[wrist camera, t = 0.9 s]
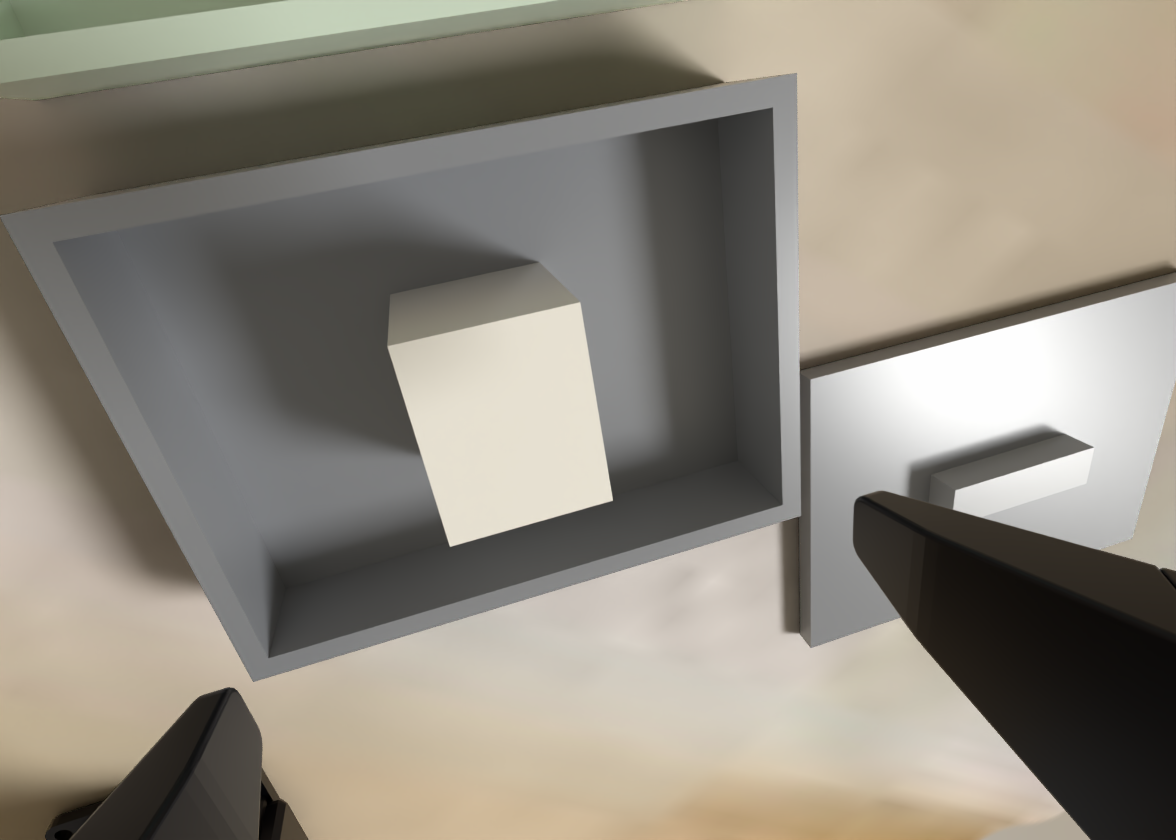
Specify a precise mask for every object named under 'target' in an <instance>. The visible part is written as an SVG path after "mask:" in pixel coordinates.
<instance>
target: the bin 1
mask: <svg viewBox="0 0 1176 840" xmlns="http://www.w3.org/2000/svg"><path fill="white" fill-rule="evenodd" d="M680 1H686V0H0V98H7V99H22V100H42V99H49V98H55V97H62V96H68V95H75V94H81V93H88V92H94V91H101V90H107V89H114V88H120V87H127V86H133V85H140V84H146V83H153V82H159V81H166V80H172V79H179V78H185V77H192V76H198V75H205V74H211V73H218V72H224V71H231V70H237V69H244V68H250V67H257V66H263V65H270V64H276V63H283V62H289V61H296V60H302V59H309V58H315V57H322V56H328V55H335V54H341V53H348V52H354V51H361V50H367V49H374V48H380V47H387V46H393V45H400V44H406V43H413V42H419V41H426V40H432V39H439V38H445V37H452V36H458V35H465V34H471V33H478V32H484V31H491V30H498V29H504V28H511V27H517V26H524V25H530V24H537V23H543V22H550V21H556V20H563V19H569V18H576V17H582V16H589V15H595V14H602V13H608V12H615V11H621V10H628V9H634V8H641V7H647V6H654V5H660V4H667V3H673V2H680Z"/></svg>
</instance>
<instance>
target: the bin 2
mask: <svg viewBox="0 0 1176 840" xmlns="http://www.w3.org/2000/svg"><path fill="white" fill-rule="evenodd" d="M0 218H1V220H2V222H3V224H4V226H5V228H6V229H7V231H8V233H9V235H10V237H11V239H12V240H13V242H14V244H15V246H16V248H17V250H18V251H19V253H20V255H21V257H22V259H23V261H24V262H25V264H26V266H27V268H28V270H29V272H30V273H31V275H32V277H33V279H34V281H35V283H36V284H37V286H38V288H39V290H40V292H41V294H42V295H43V297H44V299H45V301H46V303H47V305H48V306H49V308H50V310H51V312H52V314H53V316H54V317H55V319H56V321H57V323H58V325H59V327H60V329H61V330H62V332H63V334H64V336H65V338H66V340H67V341H68V343H69V345H70V347H71V349H72V351H73V352H74V354H75V356H76V358H77V360H78V362H79V363H80V365H81V367H82V369H83V371H84V373H85V374H86V376H87V378H88V380H89V382H90V384H91V385H92V387H93V389H94V391H95V393H96V395H97V396H98V398H99V400H100V402H101V404H102V406H103V407H104V409H105V411H106V413H107V415H108V417H109V418H110V420H111V422H112V424H113V426H114V428H115V429H116V431H117V433H118V435H119V437H120V439H121V440H122V442H123V444H124V446H125V448H126V450H127V451H128V453H129V455H130V457H131V459H132V461H133V462H134V464H135V466H136V468H137V470H138V472H139V473H140V475H141V477H142V479H143V481H144V483H145V484H146V486H147V488H148V490H149V492H150V494H151V495H152V497H153V499H154V501H155V503H156V505H157V506H158V508H159V510H160V512H161V514H162V516H163V517H164V519H165V521H166V523H167V525H168V527H169V528H170V530H171V532H172V534H173V536H174V538H175V539H176V541H177V543H178V545H179V547H180V549H181V550H182V552H183V554H184V556H185V558H186V560H187V561H188V563H189V565H190V567H191V569H192V571H193V572H194V574H195V576H196V578H197V580H198V582H199V583H200V585H201V587H202V589H203V591H204V593H205V594H206V596H207V598H208V600H209V602H210V604H211V605H212V607H213V609H214V611H215V613H216V615H217V616H218V618H219V620H220V622H221V624H222V626H223V628H224V629H225V631H226V633H227V635H228V637H229V639H230V640H231V642H232V644H233V646H234V648H235V650H236V651H237V653H238V655H239V657H240V659H241V661H242V662H243V664H244V666H245V668H246V670H247V672H248V673H249V675H250V677H251V679H252V681H253V682H255V681H258V680H261V679H265V678H268V677H271V676H274V675H278V674H281V673H284V672H288V671H291V670H294V669H298V668H301V667H304V666H307V665H311V664H314V663H317V662H321V661H324V660H327V659H331V658H334V657H337V656H340V655H344V654H347V653H350V652H354V651H357V650H360V649H364V648H367V647H370V646H373V645H377V644H380V643H383V642H387V641H390V640H393V639H397V638H400V637H403V636H406V635H410V634H413V633H416V632H420V631H423V630H426V629H430V628H433V627H436V626H439V625H443V624H446V623H449V622H453V621H456V620H459V619H463V618H466V617H469V616H472V615H476V614H479V613H482V612H486V611H489V610H492V609H496V608H499V607H502V606H505V605H509V604H512V603H515V602H519V601H522V600H525V599H529V598H532V597H535V596H538V595H542V594H545V593H548V592H552V591H555V590H558V589H562V588H565V587H568V586H571V585H575V584H578V583H581V582H585V581H588V580H591V579H595V578H598V577H601V576H604V575H608V574H611V573H614V572H618V571H621V570H624V569H628V568H631V567H634V566H638V565H641V564H644V563H647V562H651V561H654V560H657V559H661V558H664V557H667V556H671V555H674V554H677V553H680V552H684V551H687V550H690V549H694V548H697V547H700V546H704V545H707V544H710V543H713V542H717V541H720V540H723V539H727V538H730V537H733V536H737V535H740V534H743V533H746V532H750V531H753V530H756V529H760V528H763V527H766V526H770V525H773V524H776V523H779V522H783V521H786V520H789V519H793V518H796V517H799V516H801V463H800V356H799V248H798V141H797V73H794V74H786V75H778V76H771V77H763V78H756V79H748V80H741V81H733V82H726V83H720V84H715V85H709V86H703V87H698V88H692V89H686V90H681V91H675V92H670V93H664V94H658V95H653V96H647V97H641V98H636V99H630V100H625V101H619V102H613V103H608V104H602V105H596V106H591V107H585V108H580V109H574V110H568V111H563V112H557V113H551V114H546V115H540V116H535V117H529V118H523V119H518V120H512V121H506V122H501V123H495V124H490V125H484V126H478V127H473V128H467V129H461V130H456V131H450V132H445V133H439V134H433V135H428V136H422V137H417V138H411V139H405V140H400V141H394V142H388V143H383V144H377V145H372V146H366V147H360V148H355V149H349V150H343V151H338V152H332V153H327V154H321V155H315V156H310V157H304V158H298V159H293V160H287V161H282V162H276V163H270V164H265V165H259V166H253V167H248V168H242V169H237V170H231V171H225V172H220V173H214V174H208V175H203V176H197V177H192V178H186V179H180V180H175V181H169V182H164V183H158V184H152V185H147V186H141V187H135V188H130V189H124V190H119V191H113V192H107V193H102V194H96V195H90V196H85V197H80V198H75V199H71V200H67V201H62V202H58V203H53V204H49V205H44V206H40V207H35V208H31V209H27V210H22V211H18V212H13V213H9V214H4V215H0ZM538 262H540V263H541V264H542V265H543V266H544V267H545V268H546V269H547V270H548V271H549V272H550V273H551V274H552V275H553V276H554V277H555V278H556V279H557V280H558V281H559V282H560V283H561V284H562V285H563V286H564V287H565V288H566V289H567V290H568V291H569V292H570V293H571V294H572V295H573V296H574V297H576V298H577V299H578V300H579V301H580V304H581V310H582V316H583V322H584V328H585V334H586V340H587V346H588V352H589V358H590V364H591V370H592V376H593V382H594V388H595V394H596V400H597V407H598V413H599V419H600V425H601V431H602V437H603V443H604V449H605V455H606V461H607V467H608V473H609V479H610V485H611V491H612V497H613V501H610V502H606V503H603V504H599V505H596V506H592V507H589V508H585V509H582V510H578V511H575V512H571V513H568V514H564V515H561V516H557V517H553V518H550V519H546V520H543V521H539V522H536V523H532V524H529V525H525V526H522V527H518V528H515V529H511V530H508V531H504V532H501V533H497V534H494V535H490V536H487V537H483V538H479V539H476V540H472V541H469V542H465V543H462V544H458V545H455V546H451V547H450V546H449V542H448V539H447V536H446V533H445V530H444V526H443V523H442V520H441V517H440V514H439V510H438V507H437V504H436V501H435V498H434V494H433V491H432V488H431V485H430V481H429V478H428V475H427V472H426V469H425V465H424V462H423V459H422V456H421V453H420V449H419V446H418V443H417V440H416V437H415V433H414V430H413V427H412V424H411V421H410V417H409V414H408V411H407V408H406V405H405V401H404V398H403V395H402V392H401V389H400V385H399V382H398V379H397V376H396V373H395V369H394V366H393V363H392V360H391V357H390V353H389V350H388V347H387V343H388V326H389V308H390V294H394V293H399V292H404V291H408V290H413V289H417V288H422V287H427V286H431V285H436V284H441V283H445V282H450V281H454V280H459V279H464V278H468V277H473V276H478V275H482V274H487V273H491V272H496V271H501V270H505V269H510V268H515V267H519V266H524V265H528V264H533V263H538Z"/></svg>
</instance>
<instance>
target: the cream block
mask: <svg viewBox="0 0 1176 840" xmlns="http://www.w3.org/2000/svg"><path fill="white" fill-rule="evenodd" d="M387 347H388V350H389V353H390V357H391V360H392V363H393V366H394V369H395V373H396V376H397V379H398V382H399V385H400V389H401V392H402V395H403V398H404V401H405V405H406V408H407V411H408V414H409V417H410V421H411V424H412V427H413V430H414V433H415V437H416V440H417V443H418V446H419V449H420V453H421V456H422V459H423V462H424V465H425V469H426V472H427V475H428V478H429V481H430V485H431V488H432V491H433V494H434V498H435V501H436V504H437V507H438V510H439V514H440V517H441V520H442V523H443V526H444V530H445V533H446V536H447V539H448V542H449V546H450V547H451V546H455V545H458V544H462V543H465V542H469V541H472V540H476V539H479V538H483V537H487V536H490V535H494V534H497V533H501V532H504V531H508V530H511V529H515V528H518V527H522V526H525V525H529V524H532V523H536V522H539V521H543V520H546V519H550V518H553V517H557V516H561V515H564V514H568V513H571V512H575V511H578V510H582V509H585V508H589V507H592V506H596V505H599V504H603V503H606V502H610V501H613V497H612V491H611V485H610V479H609V473H608V467H607V461H606V455H605V449H604V443H603V437H602V431H601V425H600V419H599V413H598V407H597V400H596V394H595V388H594V382H593V376H592V370H591V364H590V358H589V352H588V346H587V340H586V334H585V328H584V322H583V316H582V310H581V304H580V301H579V300H578V299H577V298H576V297H574V296H573V295H572V294H571V293H570V292H569V291H568V290H567V289H566V288H565V287H564V286H563V285H562V284H561V283H560V282H559V281H558V280H557V279H556V278H555V277H554V276H553V275H552V274H551V273H550V272H549V271H548V270H547V269H546V268H545V267H544V266H543V265H542V264H541V263H540V262H538V263H533V264H528V265H524V266H519V267H515V268H510V269H505V270H501V271H496V272H491V273H487V274H482V275H478V276H473V277H468V278H464V279H459V280H454V281H450V282H445V283H441V284H436V285H431V286H427V287H422V288H417V289H413V290H408V291H404V292H399V293H394V294H390V308H389V326H388V343H387Z"/></svg>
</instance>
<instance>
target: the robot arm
mask: <svg viewBox="0 0 1176 840" xmlns="http://www.w3.org/2000/svg"><path fill="white" fill-rule="evenodd" d="M853 546H854V549H855V552H856V554H857V556H858V557H859V559H860V560H861V562H862V563H863V565H864V566H865V567H866V569H867V570H868V572H869V573H870V574H871V576H872V577H873V579H874V580H875V582H876V583H877V584H878V586H879V587H880V589H881V590H882V591H883V593H884V594H885V596H886V597H887V599H888V600H889V601H890V603H891V604H892V606H893V607H894V608H895V610H896V611H897V613H898V614H899V616H900V617H901V618H902V620H903V621H904V623H905V624H906V625H907V627H908V628H909V629H910V631H911V632H912V633H913V635H914V636H915V637H916V639H917V640H918V641H919V642H920V643H921V645H922V646H923V647H924V648H925V649H926V651H927V652H928V653H929V654H930V655H931V656H932V658H933V659H934V660H935V661H936V662H937V663H938V664H939V666H940V667H941V668H942V669H943V670H944V671H945V672H946V674H947V675H948V676H949V677H950V678H951V679H952V681H953V682H954V683H955V684H956V685H957V686H958V687H959V689H960V690H961V691H962V692H963V693H964V694H965V696H966V697H967V698H968V699H969V700H970V701H971V702H972V704H973V705H974V706H975V707H976V708H977V709H978V711H979V712H980V713H981V714H982V715H983V716H984V717H985V719H986V720H987V721H988V722H989V723H990V724H991V725H992V727H993V728H994V729H995V730H996V731H997V732H998V734H999V735H1000V736H1001V737H1002V738H1003V739H1004V740H1005V742H1006V743H1007V744H1008V745H1009V746H1010V747H1011V749H1012V750H1013V751H1014V752H1015V753H1016V754H1017V755H1018V757H1019V758H1020V759H1021V760H1022V761H1023V762H1024V764H1025V765H1026V766H1027V767H1028V768H1029V769H1030V770H1031V772H1032V773H1033V774H1034V775H1035V776H1036V777H1037V779H1038V780H1039V781H1040V782H1041V783H1042V784H1043V785H1044V787H1045V788H1046V789H1047V790H1048V791H1049V792H1050V793H1051V795H1052V796H1053V797H1054V798H1055V799H1056V800H1057V802H1058V803H1059V804H1060V805H1061V806H1062V807H1063V808H1064V810H1065V811H1066V812H1067V813H1068V814H1069V815H1070V816H1071V818H1072V819H1073V820H1074V821H1075V822H1076V823H1077V825H1078V826H1079V827H1080V828H1081V829H1082V830H1083V832H1084V833H1085V834H1086V835H1087V836H1088V837H1089V838H1090V840H1176V571H1174V570H1170V569H1167V568H1161V569H1158V567H1156V566H1155V565H1152V564H1148V563H1144V562H1141V561H1137V560H1133V559H1130V558H1126V557H1123V556H1119V555H1115V554H1112V553H1108V552H1104V551H1101V550H1097V549H1094V548H1090V547H1086V546H1083V545H1079V544H1076V543H1072V542H1068V541H1065V540H1061V539H1057V538H1054V537H1050V536H1047V535H1043V534H1039V533H1036V532H1032V531H1029V530H1025V529H1021V528H1018V527H1014V526H1010V525H1007V524H1003V523H1000V522H996V521H992V520H989V519H985V518H981V517H978V516H974V515H971V514H967V513H963V512H960V511H956V510H953V509H949V508H945V507H942V506H938V505H934V504H931V503H927V502H924V501H920V500H916V499H913V498H909V497H906V496H902V495H898V494H895V493H891V492H888V491H881V490H880V491H875V492H872V493H869V494H865V495H862V496H860V497H858V498H857V499H856V500H855V503H854V511H853ZM45 838H46V840H308V838H307V836H306V834H305V833H304V831H303V829H302V827H301V826H300V824H299V822H298V821H297V819H296V817H295V815H294V814H293V812H292V810H291V809H290V807H289V805H288V803H286V802H285V801H284V800H282V799H280V798H279V796H278V794H277V793H276V791H275V789H274V788H273V786H272V784H271V782H270V781H269V779H268V777H267V776H266V774H265V772H264V770H263V769H262V737H261V733H260V730H259V728H258V726H257V724H256V722H255V720H254V718H253V717H252V715H251V713H250V711H249V709H248V708H247V706H246V704H245V702H244V700H243V699H242V697H241V695H240V694H239V692H238V691H237V690H236V689H234V688H230V687H229V688H224V689H221V690H218V691H214V692H211V693H208V694H204V695H202V696H200V697H198V698H197V699H196V700H195V701H194V702H193V703H192V704H191V705H190V706H189V707H188V708H187V709H186V711H185V712H184V713H183V714H182V715H181V716H180V717H179V718H178V719H177V721H176V722H175V723H174V724H173V725H172V726H171V727H170V728H169V729H168V731H167V732H166V733H165V734H164V735H163V736H162V737H161V738H160V739H159V741H158V742H157V743H156V744H155V745H154V746H153V747H152V748H151V749H150V751H149V752H148V753H147V754H146V755H145V756H144V757H143V758H142V759H141V761H140V762H139V763H138V764H137V765H136V766H135V767H134V768H133V770H132V771H131V772H130V773H129V774H128V775H127V776H126V777H125V778H124V780H123V781H122V782H121V783H120V784H119V785H118V786H117V787H116V788H115V790H114V791H113V792H112V793H111V794H110V795H109V796H108V797H107V798H106V800H105V801H102V802H98V803H95V804H92V805H89V806H86V807H83V808H80V809H77V810H73V811H70V812H67V813H64V814H61V815H59V816H57V817H55V818H54V819H53V820H52V822H51V824H50V826H49V828H48V830H47V832H46V835H45Z"/></svg>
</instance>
